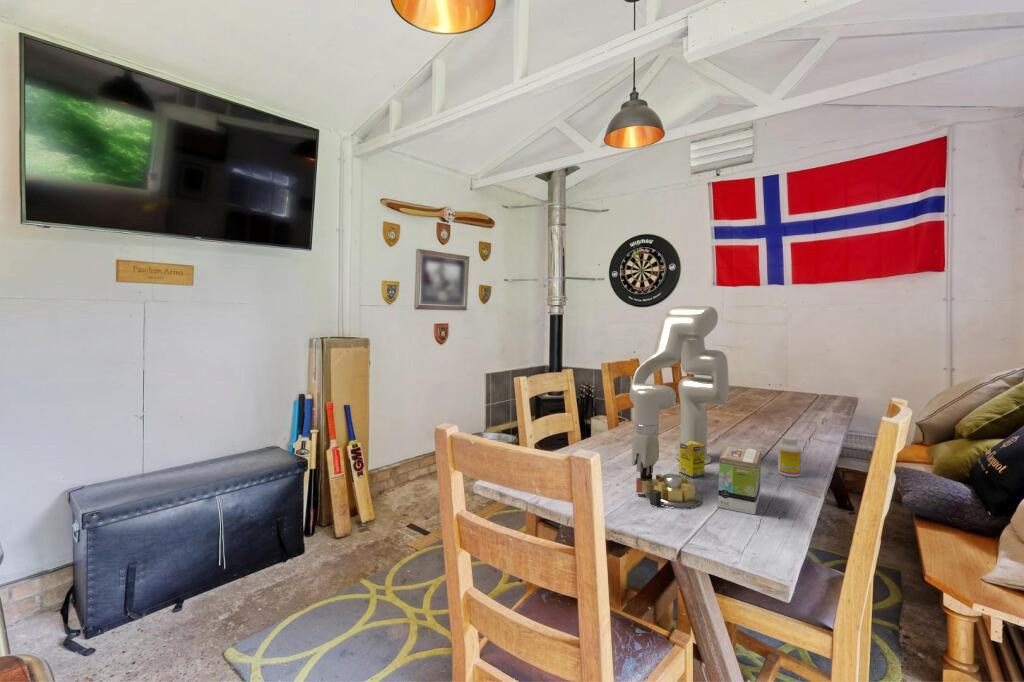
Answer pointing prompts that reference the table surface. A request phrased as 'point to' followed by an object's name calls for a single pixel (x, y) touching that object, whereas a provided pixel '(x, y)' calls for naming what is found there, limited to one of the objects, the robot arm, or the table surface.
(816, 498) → the table surface
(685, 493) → the tan block cluster
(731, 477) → the tea box
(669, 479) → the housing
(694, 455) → the supplement box
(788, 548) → the table surface
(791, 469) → the supplement bottle
